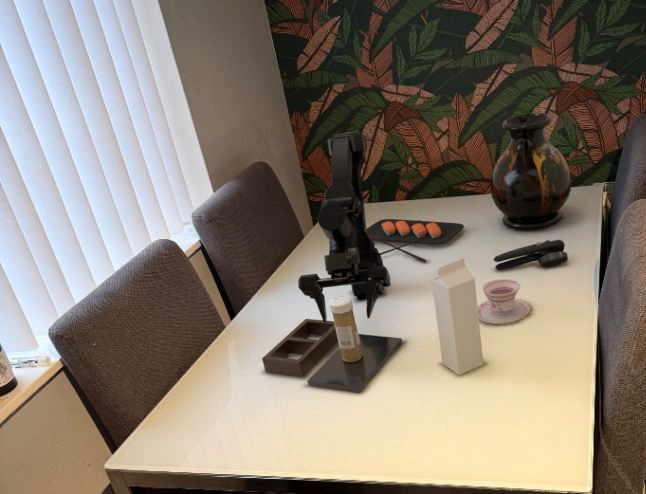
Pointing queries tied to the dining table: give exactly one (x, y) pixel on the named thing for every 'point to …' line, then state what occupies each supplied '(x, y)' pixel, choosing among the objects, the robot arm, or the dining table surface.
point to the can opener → (534, 255)
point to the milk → (457, 317)
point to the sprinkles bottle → (346, 328)
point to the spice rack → (301, 348)
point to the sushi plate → (413, 233)
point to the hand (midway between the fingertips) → (346, 320)
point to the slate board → (356, 365)
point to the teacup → (502, 303)
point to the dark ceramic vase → (530, 176)
